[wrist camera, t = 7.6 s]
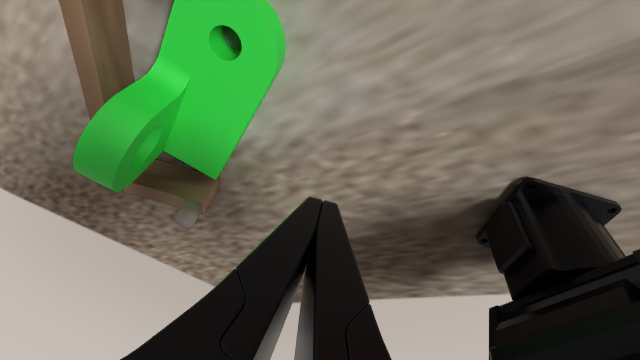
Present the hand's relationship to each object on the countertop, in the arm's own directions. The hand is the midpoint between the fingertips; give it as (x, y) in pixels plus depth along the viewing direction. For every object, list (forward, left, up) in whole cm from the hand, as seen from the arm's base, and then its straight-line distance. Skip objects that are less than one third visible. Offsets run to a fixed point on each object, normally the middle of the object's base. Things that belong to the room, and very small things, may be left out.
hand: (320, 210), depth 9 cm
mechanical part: (+8, +3, -12) cm, 15 cm away
